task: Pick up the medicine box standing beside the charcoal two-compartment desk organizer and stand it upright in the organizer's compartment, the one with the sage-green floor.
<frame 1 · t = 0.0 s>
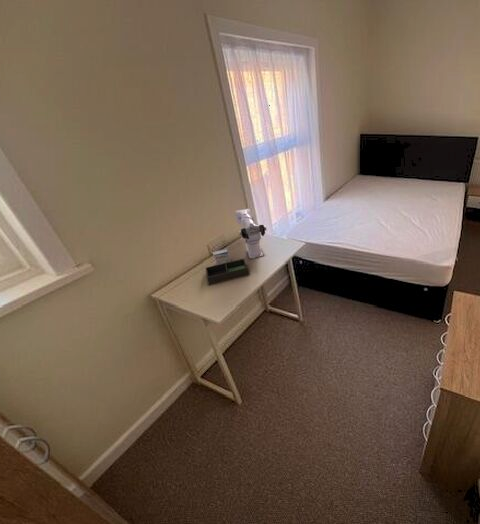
hand: (255, 235, 146), 22 cm above the table, tool horizontal, fingers open, 7 cm apart
organizer: (228, 274, 155), on the table
medicine box: (223, 264, 164), on the table
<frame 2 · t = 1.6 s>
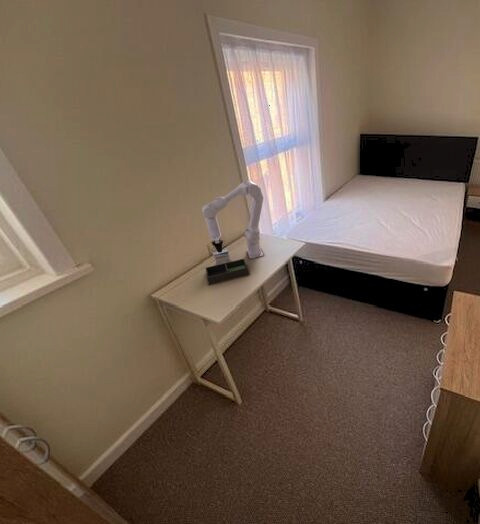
hand: (219, 248, 158), 10 cm above the table, tool pointing down, fingers open, 7 cm apart
nothing on the table moved.
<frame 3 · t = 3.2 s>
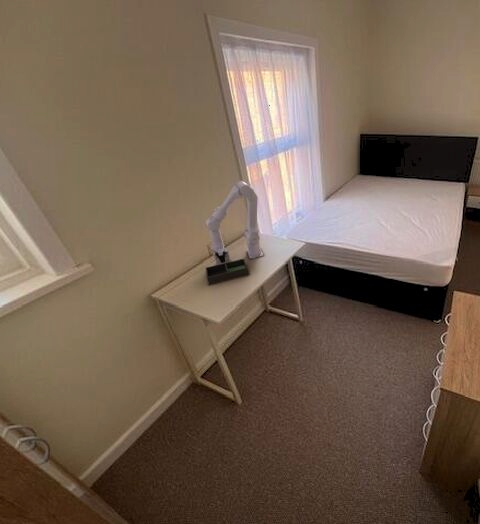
hand: (222, 260, 162), 3 cm above the table, tool pointing down, fingers closed on medicine box, 4 cm apart
medicine box: (223, 264, 164), on the table, touching gripper
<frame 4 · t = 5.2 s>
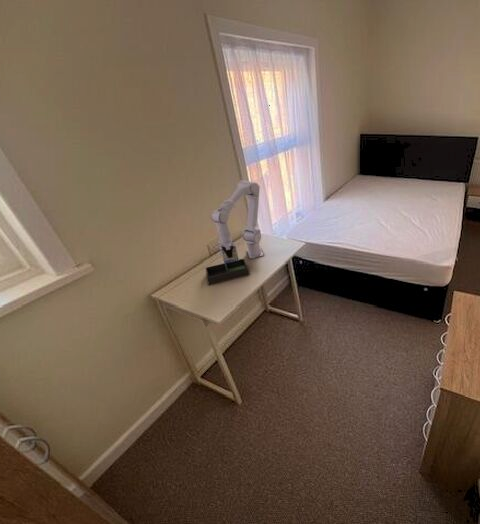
hand: (229, 255, 153), 10 cm above the table, tool pointing down, fingers closed on medicine box, 4 cm apart
medicine box: (231, 260, 155), point 7 cm above the table, touching gripper
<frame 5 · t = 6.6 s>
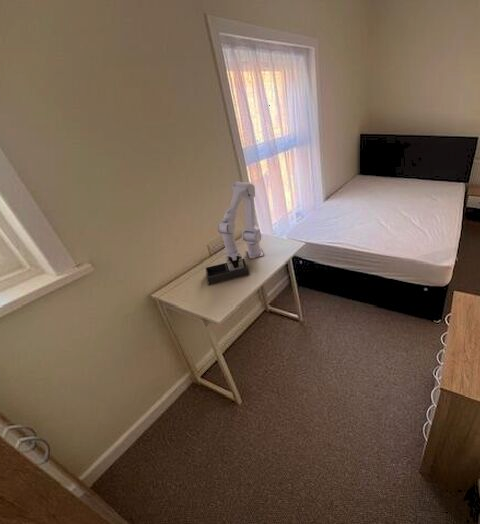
hand: (235, 265, 154), 5 cm above the table, tool pointing down, fingers closed on medicine box, 4 cm apart
medicine box: (236, 269, 156), point 2 cm above the table, touching gripper
when the fingers open (4 cm above the table, at t = 7.4 s): medicine box stays where it is, resting on organizer.
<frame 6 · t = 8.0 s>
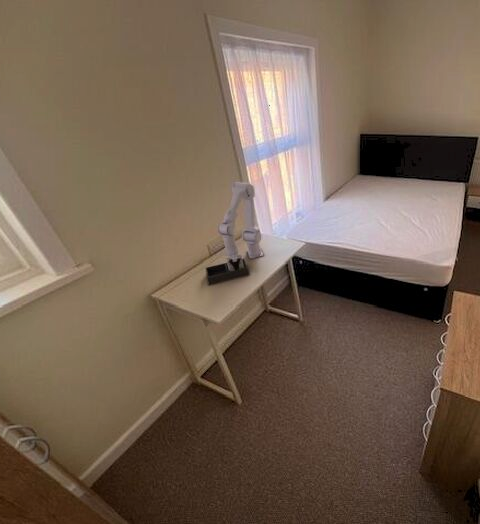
hand: (236, 266, 155), 4 cm above the table, tool pointing down, fingers open, 7 cm apart
medicine box: (237, 271, 156), point 1 cm above the table, touching organizer
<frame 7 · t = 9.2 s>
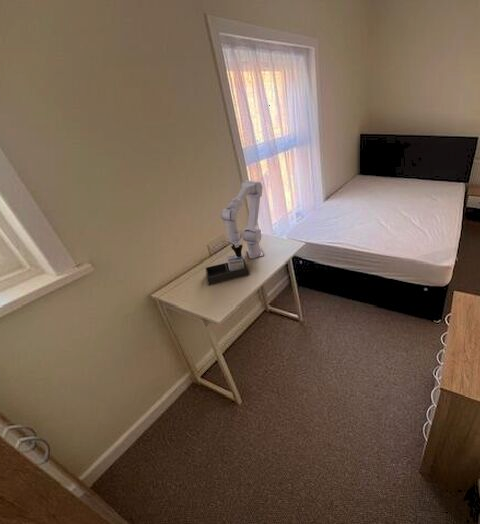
hand: (238, 253, 155), 10 cm above the table, tool pointing down, fingers open, 7 cm apart
medicine box: (237, 270, 156), point 1 cm above the table, touching gripper, organizer
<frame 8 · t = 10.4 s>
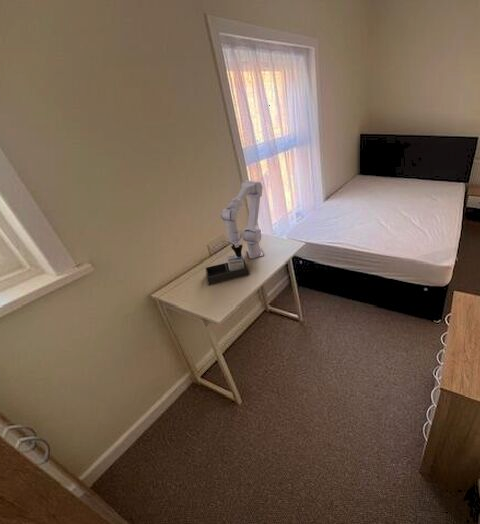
hand: (238, 253, 155), 10 cm above the table, tool pointing down, fingers open, 7 cm apart
nothing on the table moved.
at the end: medicine box inside the target area in the organizer (0.0 cm from its centre), point 1.0 cm above the organizer's base; medicine box tilted 6° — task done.
